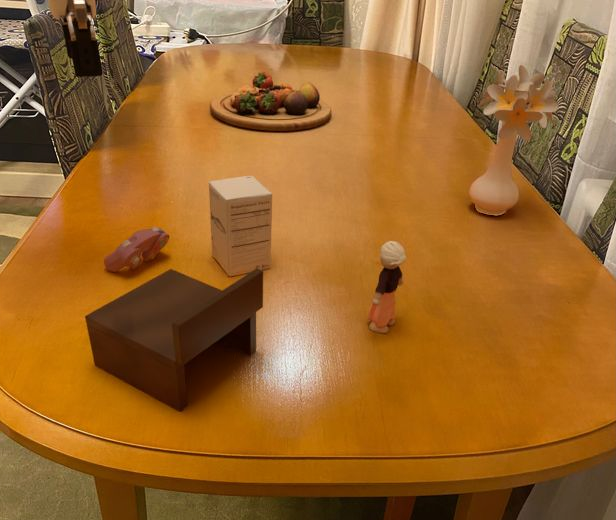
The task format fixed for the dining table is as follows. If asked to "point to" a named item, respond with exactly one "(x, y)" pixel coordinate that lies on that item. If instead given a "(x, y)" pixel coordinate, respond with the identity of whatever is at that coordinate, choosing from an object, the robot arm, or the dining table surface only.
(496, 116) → the flower vase
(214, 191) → the white packaging box
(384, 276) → the grandmother figurine
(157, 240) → the pink toy car
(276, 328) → the dining table surface
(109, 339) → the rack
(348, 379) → the dining table surface
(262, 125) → the wooden plate
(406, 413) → the dining table surface
